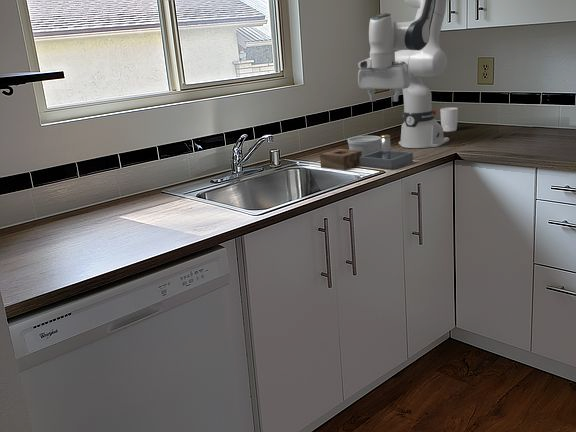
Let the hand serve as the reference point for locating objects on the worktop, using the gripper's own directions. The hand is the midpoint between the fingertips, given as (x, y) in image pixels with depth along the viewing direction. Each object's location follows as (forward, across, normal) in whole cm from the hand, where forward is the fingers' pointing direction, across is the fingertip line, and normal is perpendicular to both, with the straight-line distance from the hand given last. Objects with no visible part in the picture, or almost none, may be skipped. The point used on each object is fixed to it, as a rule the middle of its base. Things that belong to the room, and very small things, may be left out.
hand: (384, 101), depth 228 cm
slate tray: (+23, 0, 0) cm, 23 cm away
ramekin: (+23, +17, -10) cm, 30 cm away
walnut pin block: (+23, +14, +9) cm, 28 cm away
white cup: (+24, +14, -71) cm, 76 cm away
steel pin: (+22, 0, 0) cm, 22 cm away
